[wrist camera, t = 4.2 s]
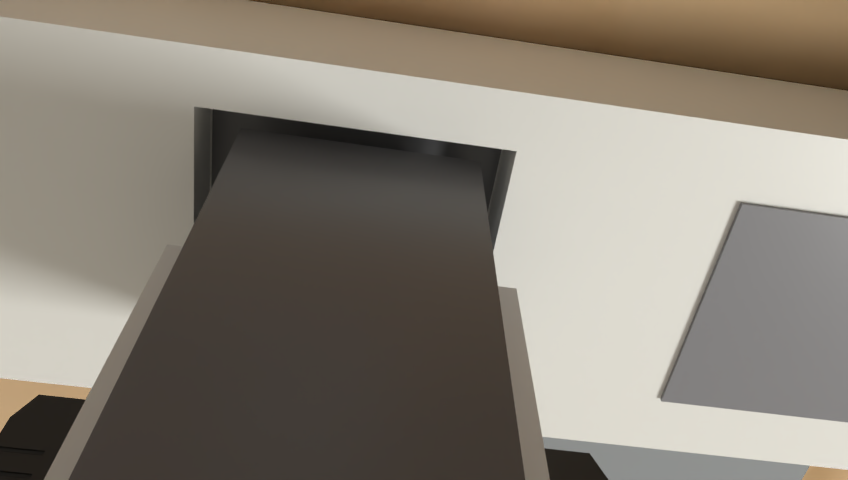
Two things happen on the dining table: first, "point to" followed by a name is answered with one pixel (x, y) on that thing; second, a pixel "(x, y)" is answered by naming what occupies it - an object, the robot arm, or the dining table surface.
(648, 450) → the pad
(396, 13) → the dining table surface
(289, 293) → the block
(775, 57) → the dining table surface
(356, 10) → the dining table surface
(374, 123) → the power strip
